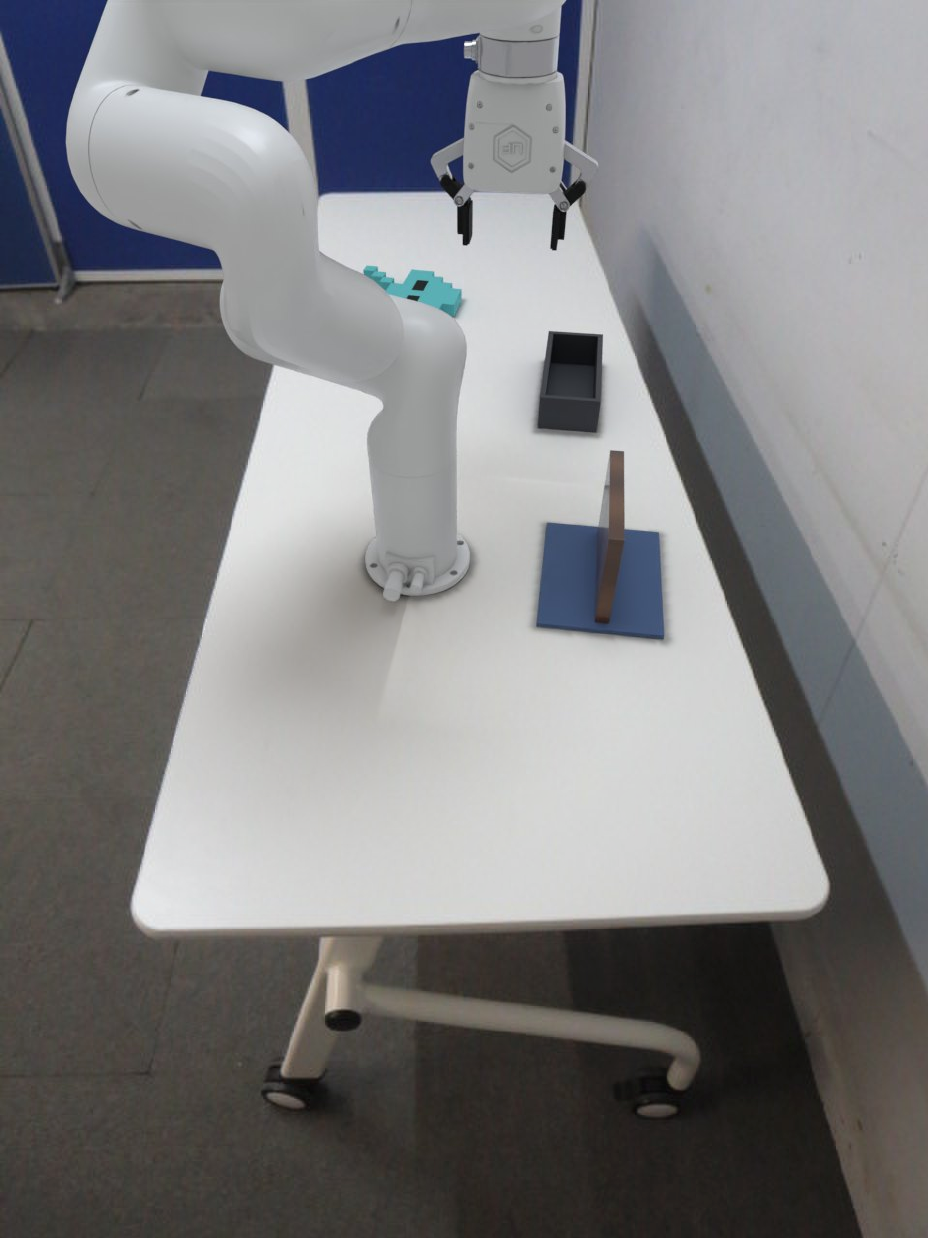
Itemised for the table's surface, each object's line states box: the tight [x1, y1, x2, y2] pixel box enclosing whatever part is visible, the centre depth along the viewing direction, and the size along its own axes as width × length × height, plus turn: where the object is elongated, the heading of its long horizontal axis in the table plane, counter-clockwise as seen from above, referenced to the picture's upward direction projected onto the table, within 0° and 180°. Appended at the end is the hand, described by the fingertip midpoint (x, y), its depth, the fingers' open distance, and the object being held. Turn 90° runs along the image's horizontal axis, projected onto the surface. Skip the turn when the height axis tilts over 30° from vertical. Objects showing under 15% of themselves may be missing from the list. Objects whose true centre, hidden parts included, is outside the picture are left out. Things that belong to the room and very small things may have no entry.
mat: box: [535, 522, 665, 640], centre depth 95 cm, size 18×14×1 cm
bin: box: [537, 330, 604, 434], centre depth 122 cm, size 21×9×6 cm, turn 172°
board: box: [595, 449, 626, 623], centre depth 90 cm, size 16×2×12 cm, turn 172°
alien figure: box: [362, 265, 463, 318], centre depth 146 cm, size 20×2×20 cm
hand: (510, 243), depth 89 cm, fingers open, 9 cm apart
